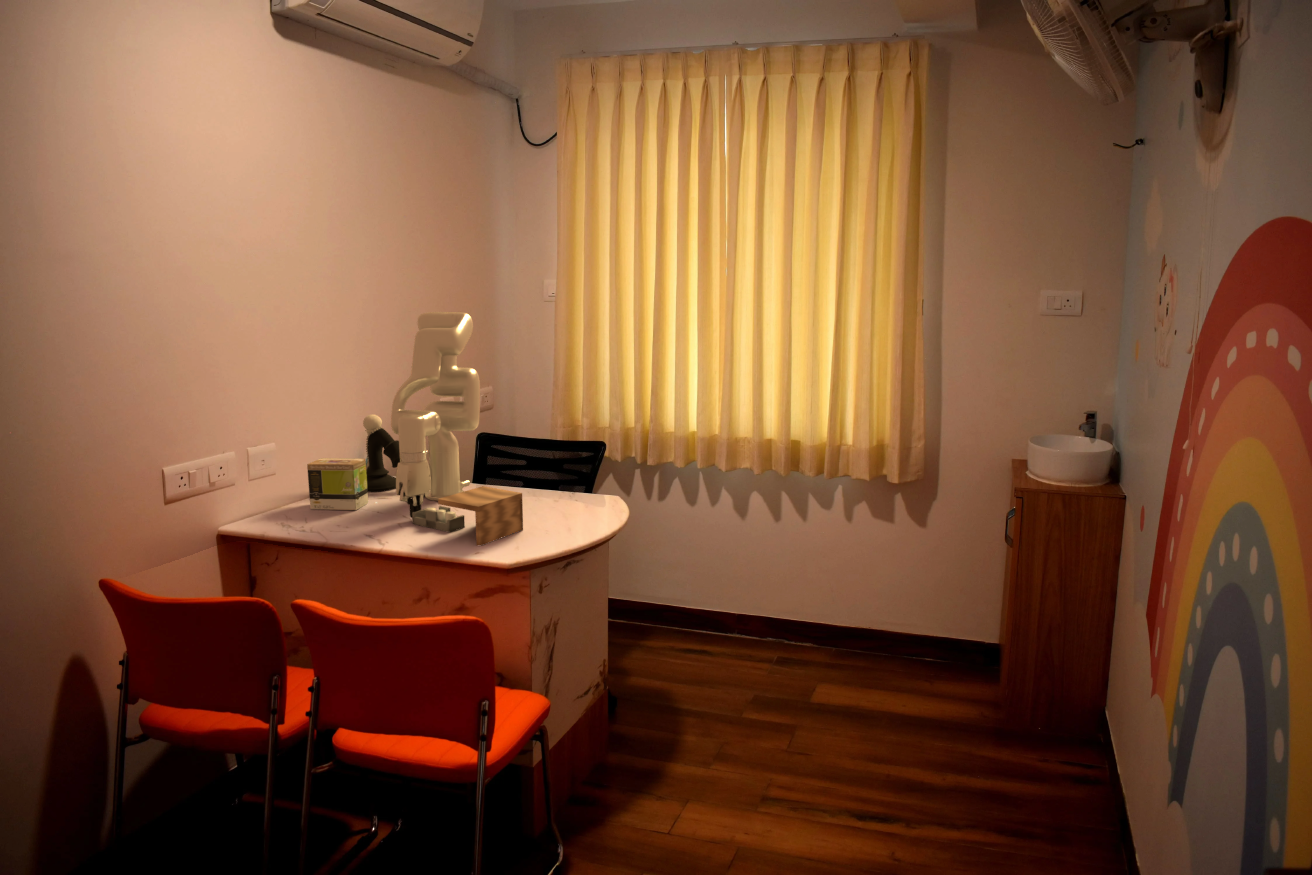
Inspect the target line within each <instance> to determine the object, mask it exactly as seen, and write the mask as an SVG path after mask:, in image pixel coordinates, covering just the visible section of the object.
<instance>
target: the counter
mask: <svg viewBox="0 0 1312 875" xmlns="http://www.w3.org/2000/svg"><path fill="white" fill-rule="evenodd" d="M463 491H464V492H461V493H457V494H454V495H450V496H447V497H443V498H440V499H438V501H437V504H438V505H439V506H444V507H449V508H451V507H452V508H456V509H462V510H466V511H471V512H474V515H475V540H476V544H475V545H476V546H478V545H481V546H484V545H486V543H487V544H489V543H491V541H492V542H494V541H493V540H495V541H497V540H499V538H500V539H502V538H501V537H503V538H505V537H504V536H506V537H508V536H511V535H513V534H512V533H514V534H516V533H515V532H517V533H519V532H521V531H520V530H522V531H523V530H524V514H523V513H524V512H523V507H524V506H523V492H518V491H513V490H508V489H507V490H506V489H502V488H496V487H490V486H485V485H483V486H478V487H475V488H472V489H468V490H463ZM518 531H519V532H518ZM510 534H511V535H510ZM507 535H508V536H507ZM496 539H497V540H496ZM488 542H489V543H488ZM483 544H484V545H483Z"/></svg>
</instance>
